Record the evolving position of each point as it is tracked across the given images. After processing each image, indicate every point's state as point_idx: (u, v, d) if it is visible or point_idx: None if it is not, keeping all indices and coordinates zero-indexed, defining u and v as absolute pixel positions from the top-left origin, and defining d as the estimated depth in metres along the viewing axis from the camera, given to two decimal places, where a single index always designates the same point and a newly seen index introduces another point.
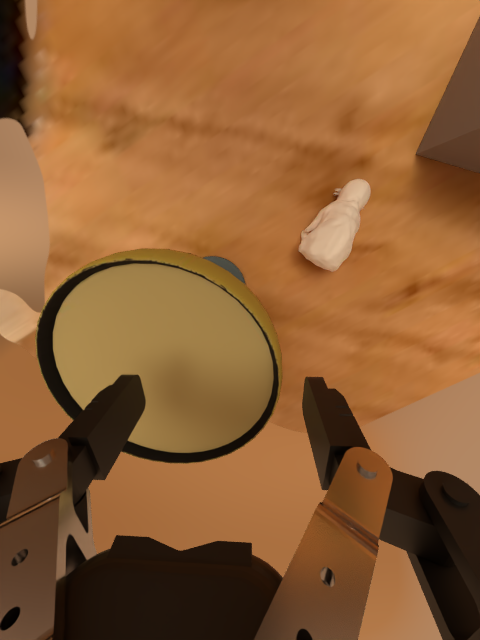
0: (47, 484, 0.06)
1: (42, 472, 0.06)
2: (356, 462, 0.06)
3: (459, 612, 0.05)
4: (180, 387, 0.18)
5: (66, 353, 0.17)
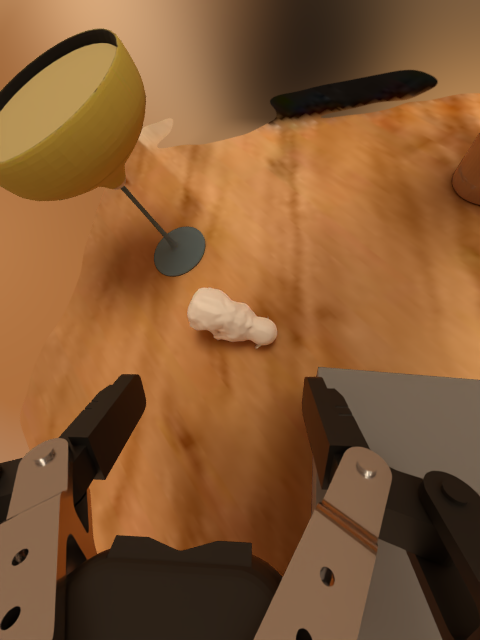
0: (48, 484, 0.06)
1: (42, 472, 0.06)
2: (355, 462, 0.06)
3: (458, 611, 0.05)
4: (36, 114, 0.22)
5: (71, 56, 0.24)
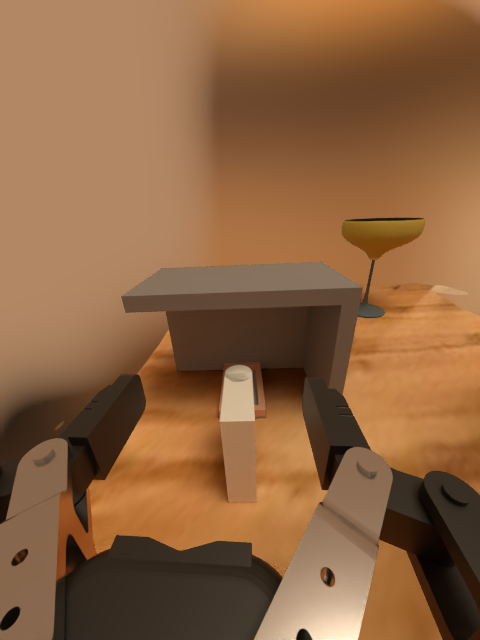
0: (47, 484, 0.06)
1: (42, 472, 0.06)
2: (356, 462, 0.06)
3: (459, 612, 0.05)
4: None
5: None
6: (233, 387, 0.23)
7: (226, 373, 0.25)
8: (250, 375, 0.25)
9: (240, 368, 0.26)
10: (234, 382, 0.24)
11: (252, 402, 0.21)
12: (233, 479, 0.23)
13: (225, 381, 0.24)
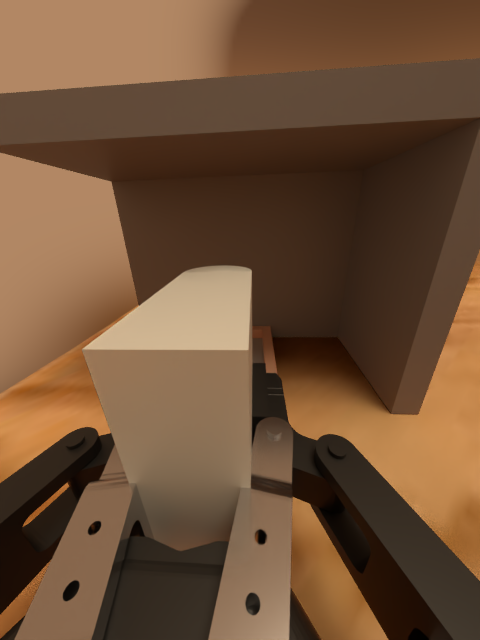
0: None
1: None
2: (266, 428, 0.08)
3: (356, 545, 0.06)
4: None
5: None
6: (193, 286, 0.08)
7: (187, 272, 0.10)
8: (247, 273, 0.09)
9: (225, 268, 0.11)
10: (201, 282, 0.09)
11: (245, 307, 0.06)
12: None
13: (177, 280, 0.09)
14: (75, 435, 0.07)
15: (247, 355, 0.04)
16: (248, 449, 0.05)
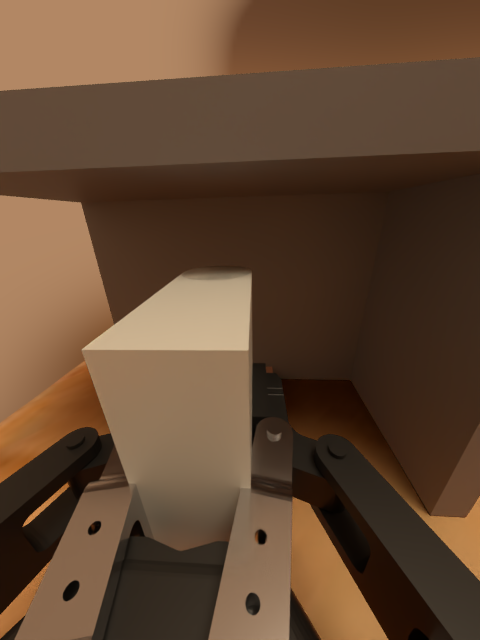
0: None
1: None
2: (266, 428, 0.08)
3: (356, 544, 0.06)
4: None
5: None
6: (193, 286, 0.08)
7: (186, 272, 0.10)
8: (247, 273, 0.09)
9: (225, 268, 0.11)
10: (201, 282, 0.09)
11: (245, 307, 0.06)
12: None
13: (177, 280, 0.09)
14: (75, 435, 0.07)
15: (247, 356, 0.04)
16: (248, 450, 0.05)
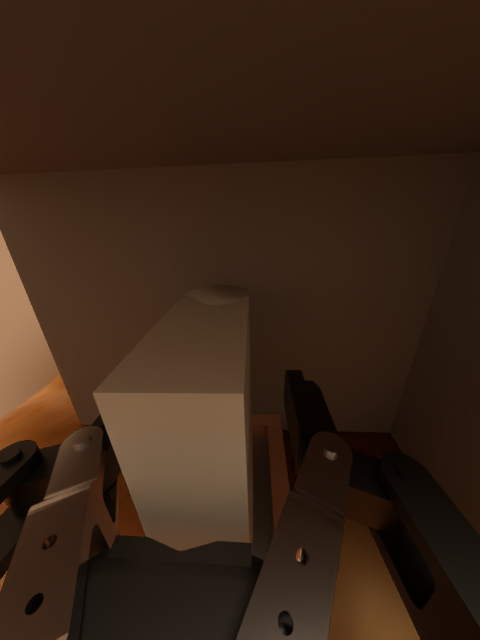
0: (89, 466, 0.07)
1: (79, 457, 0.07)
2: (321, 444, 0.07)
3: (417, 579, 0.06)
4: None
5: None
6: (193, 313, 0.08)
7: (186, 294, 0.10)
8: (244, 296, 0.10)
9: (223, 288, 0.11)
10: (200, 306, 0.09)
11: (241, 340, 0.06)
12: None
13: (177, 304, 0.09)
14: (8, 450, 0.07)
15: (242, 398, 0.04)
16: (245, 477, 0.05)
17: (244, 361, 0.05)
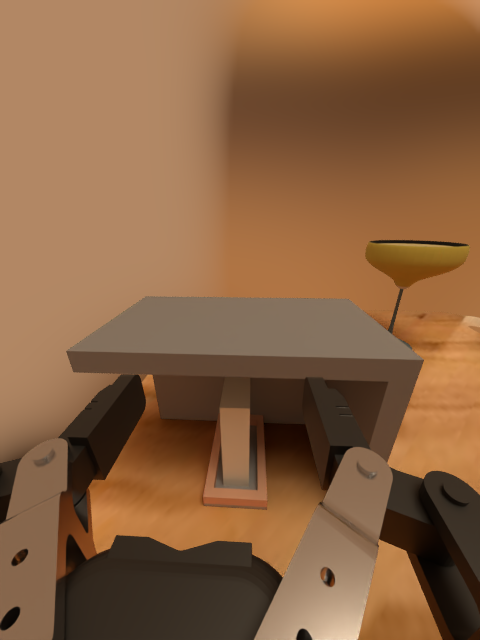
0: (47, 484, 0.06)
1: (42, 472, 0.06)
2: (356, 462, 0.06)
3: (459, 612, 0.05)
4: None
5: (447, 246, 0.50)
6: (233, 381, 0.27)
7: None
8: None
9: None
10: (234, 377, 0.27)
11: (248, 394, 0.25)
12: (228, 463, 0.26)
13: None
14: None
15: (249, 409, 0.23)
16: (249, 427, 0.24)
17: (249, 400, 0.24)
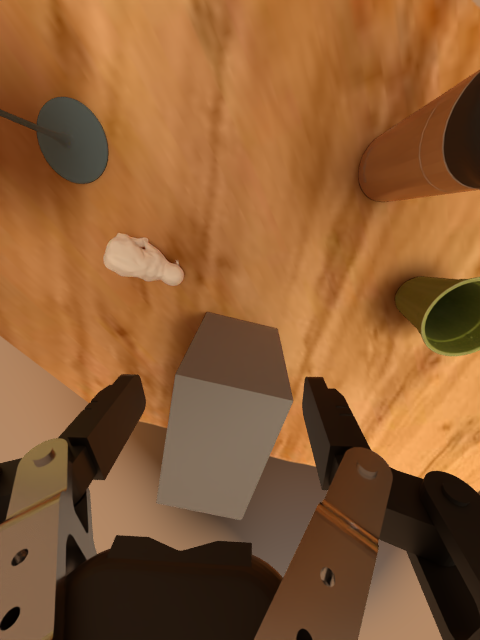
0: (47, 484, 0.06)
1: (42, 472, 0.06)
2: (356, 462, 0.06)
3: (459, 612, 0.05)
4: None
5: None
6: None
7: None
8: None
9: None
10: None
11: None
12: None
13: None
14: None
15: None
16: None
17: None
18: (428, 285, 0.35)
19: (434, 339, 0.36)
